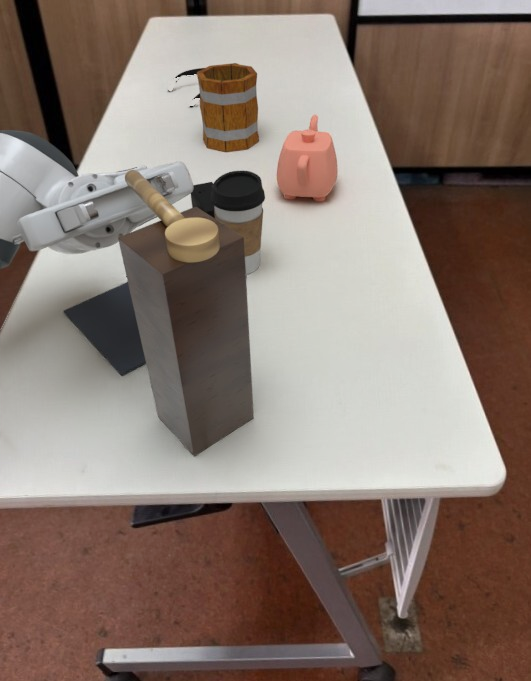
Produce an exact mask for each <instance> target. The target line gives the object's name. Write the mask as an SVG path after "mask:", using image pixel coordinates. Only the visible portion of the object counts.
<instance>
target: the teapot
mask: <svg viewBox="0 0 531 681" xmlns="http://www.w3.org/2000/svg"><path fill="white" fill-rule="evenodd" d="M318 119H319V117H318V115H317V114H313V115H312V116H311V117H310V120H309V121H310V122H309V127H308V129H304V130H292V131H291V132H289V134H288V135H287V136H286V137H285V139H284V141H283V145H282V147H281V150H280V153H279V156H278V160H277V167H276V184H277V187H278V189H279V191H280V193H281V194H282V195H284V196H283V197H284V199H286V200H294V199H296V198H297V197H300V198H303V197H304V198H313V200H314V201H315V202H324V201H326V199H327V198H326V197H327V196H328V195H329V194H330V193H331V191H332V189H333V187H334V186H335V184H336V182H337V179H338V172H339V171H338V170H339V169H338V158H337V154H336V149H335V145H334V141H333V137H332V134H330V133H329V132H327V131H319V129H318V122H319V121H318Z"/></svg>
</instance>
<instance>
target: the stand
mask: <svg viewBox="0 0 531 681" xmlns="http://www.w3.org/2000/svg"><path fill="white" fill-rule="evenodd" d="M180 213H181V214H182V215H183V216H184V217H185V218H204V219H208V220H211V221H212V222H214V223H215V224H216V225H217V227H218V231H219V242H220V248H219V251H218V252H217V253H216V254H215V255H214V256H213V257H211V258H209V259H207V260H204V261H200V262H181V261H178V260H175V259H173V258H172V257H171V256H170V255H169V254H168V250H167V244H166V238H165V231H166V229H167V226H166V225H165V224H164V223H163V222H162V221H161V220H159V221H157V222H153V223H151V224H148V225H146V226H143V227H141V228H138V229H135V230H133V231H132V232H130V233H128V234H126V235H123V236H121V237H118V240H119V242H118V244H119V248H120V249H119V250H120V253H121V257H122V262H123V267H124V271H125V275H126V281H127V282H128V285H129V289H130V294H131V298H132V303H133V307H134V311H135V316H136V320H137V325H138V329H139V334H140V338H141V343H142V347H143V352H144V356H145V360H146V364H145V365H146V369H147V373H148V378H149V382H150V387H151V391H152V395H153V400H154V404H155V409H156V413H157V417H158V418H159V420H160V421H161V422H162V423H163V425H165V427H167V428H168V430H169V431H170V433H172V434H173V435H174V436H175V437H176V438H177V439H178V440H179V441H180V443H181V444H182V445H183V446H184V447H185V449H187V450H188V452H190V454H191V455H193V457H196V456H197V455H199V454H200V453H202V452H203V451H205V450H206V449H208V448H209V447H211V446H213V445H214V444H216V443H217V442H219V441H220V440H222V439H224V438H225V437H226V436H228V435H230V434H232V433H233V432H234V431H236V430H237V429H239V428H241V427H242V426H244V425H245V424H247V423H249V422H250V421H251V420H253V419H255V418H254V416H255V415H254V399H253V397H254V396H253V379H252V378H253V377H252V361H251V343H250V341H251V340H250V323H249V307H248V306H249V304H248V289H247V287H248V286H247V274H246V267H245V248H244V237H243V236H241V235H239V234H238V233H236V232H235V231H233V230H232V229H230V228H229V227H227V226H225V225H224V224H222V223H221V222H219V221H218V220H216V219H215V218H213V217H211V216H210V215H208V214H207V213H205V212H204V211H202V210H200V209H199V208H197V207H193V208H192V207H191V208H187V209H185V210H183V211H181V212H180Z"/></svg>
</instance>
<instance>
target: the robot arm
mask: <svg viewBox="0 0 531 681" xmlns="http://www.w3.org/2000/svg"><path fill="white" fill-rule="evenodd" d="M130 170H136V171H138V172H139V173H140V174H141V175H142V176H143V177H144V178H145V179H146V180H147V181H148V182H149V183H150V184H151V185H152V186H153V187H154V188H155V189H156V190H157V191H158V192H159V193H160V194H161V195H162V196H163V197H164V198H165V199H166V200H167V201H168V202H169V203H170V204H171V205H172V206H173V205H174V204H176V203H177V202H179V201H180V200H183V199H184V198H186V197H188V196H190V195H191V193H192V192H193V189H194V186H193V185H194V183H193V182H194V181H193V178H192V177H191V174H190V171H189V170H188V167H187V165H186V164H185V163H184V162H183V161H174V162H169V163H165V164H161V165H157V166H152V167H149V168H148V166H147V165H141V166H138V167H137V166H136V167H132V168H128V169H123V170H118V171H115V172H114V171H113V172H98V173H84V174H80V175H79V173H78V171H77V169H76V168H75V166H74V163H73V162H72V161H71V160H70V159H69V158H68V157H67V156H66V155H65V154H64V153H63V152H62V151H61V150H60V149H59V148H57V147H56V146H55V145H53V144H52V143H50V142H49V141H48V140H46V139H45V138H43V137H41V136H39V135H38V134H35V133H33V132H29V131H23V130H16V129H15V130H13V129H2V130H0V270H1V269H5V268H7V267H9V266H10V265H11V263H12V261H13V259H14V258H15V256H16V254H17V252H18V251H19V248H20V247H21V244H22V243H23V242H24V243H25V245H26V247H27V249H28V250H29V252H37V251H41V250H44V249H46V248H49V249H51V250H52V251H55V252H58V253H61V254H65V255H80V254H85V253H88V252H91V251H96V250H101V249H105V248H110V247H112V246H114V245H116V244H117V243H119V240H118V237H121V236H123V235H126V234H128V233H131V232H133V231H135V230H136V229H137V228H139V227H141V226H142V225H144V224H146V223H148V222H150V221H152V220H154V219H157V218H158V216H157V215H156V214H155V213H154V212H153V211H152V210H151V209H150V208H149V207H148V206H147V205H146V204H145V203H144V202H143V200H142V199H141V198H140V197H139V196H138V195H137V194H136V193H135V192H134V191H133V190H132V189H131V188H130V187H129V186H128V185H127V183H126V182H125V175H126V173H127V172H128V171H130Z"/></svg>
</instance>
